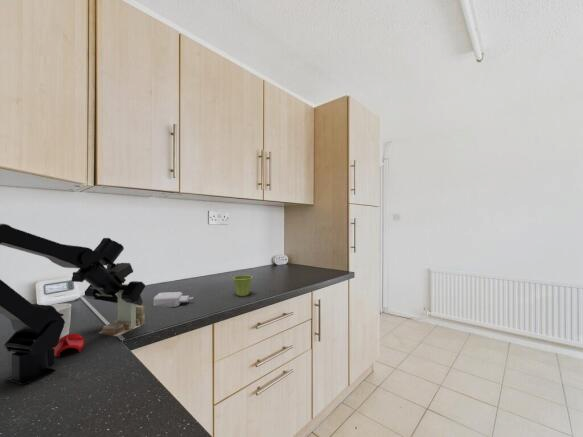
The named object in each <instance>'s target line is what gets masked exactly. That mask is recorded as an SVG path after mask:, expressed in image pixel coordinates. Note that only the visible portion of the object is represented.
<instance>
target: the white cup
mask: <svg viewBox="0 0 583 437" xmlns="http://www.w3.org/2000/svg"><path fill="white" fill-rule="evenodd" d="M48 305H49V304H48ZM49 306H53V307H54V308H55V309H56V311H57V312H58V313H60V314H64V315H63V316H61V317H62V318H63V319H64V321H65V324H64V328H63V330H62V332H61V335H60V338H59V339H61V338H62V337H64V336H66V335H69V334H70V326H71V317H72V316H71V315H72V314H71V312H72V304H71V303H56V304H55V303H54V304H51V305H49Z"/></svg>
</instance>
